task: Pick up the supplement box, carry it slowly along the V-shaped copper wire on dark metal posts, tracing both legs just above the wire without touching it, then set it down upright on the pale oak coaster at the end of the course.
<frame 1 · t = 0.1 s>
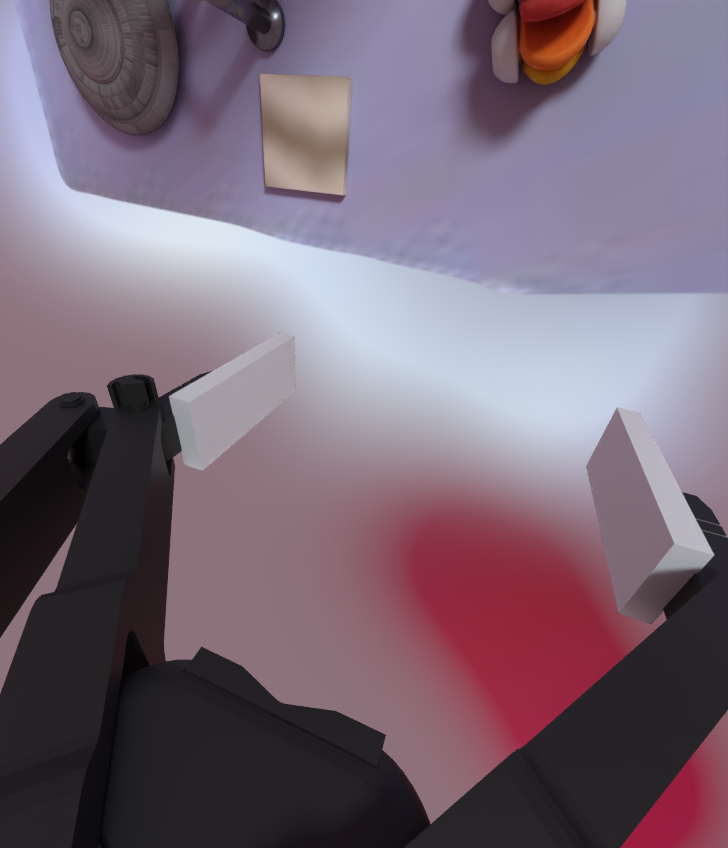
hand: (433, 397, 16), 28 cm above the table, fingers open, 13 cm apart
flying saucer: (130, 47, 40), on the table
rainbow disc toy: (551, 6, 28), on the table
coaster: (306, 137, 38), on the table
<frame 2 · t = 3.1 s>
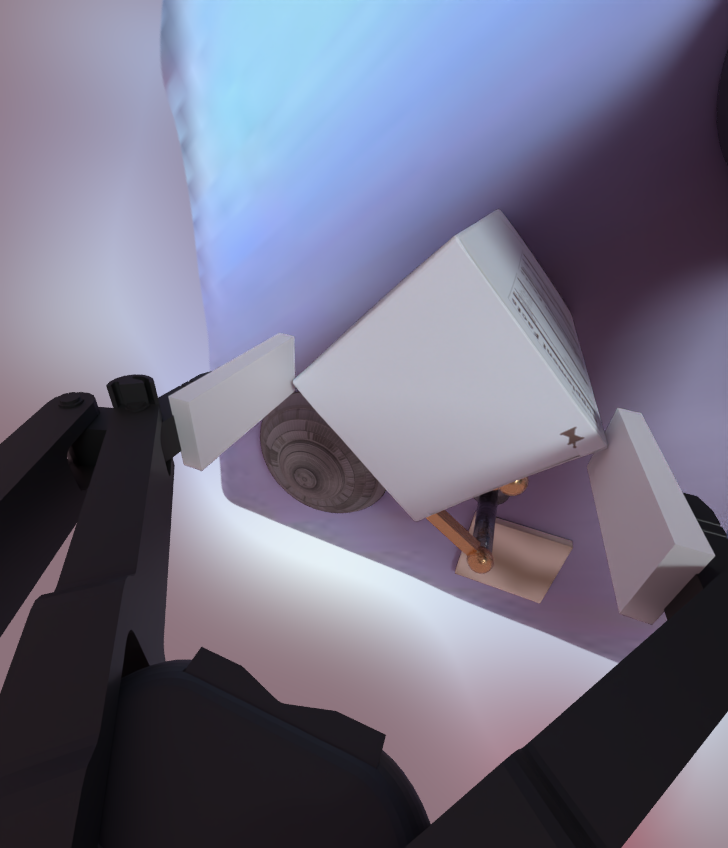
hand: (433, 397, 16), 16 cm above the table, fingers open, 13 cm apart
flying saucer: (329, 447, 41), on the table
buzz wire: (435, 434, 35), on the table
coaster: (508, 555, 39), on the table
supplement box: (478, 306, 28), on the table, touching gripper
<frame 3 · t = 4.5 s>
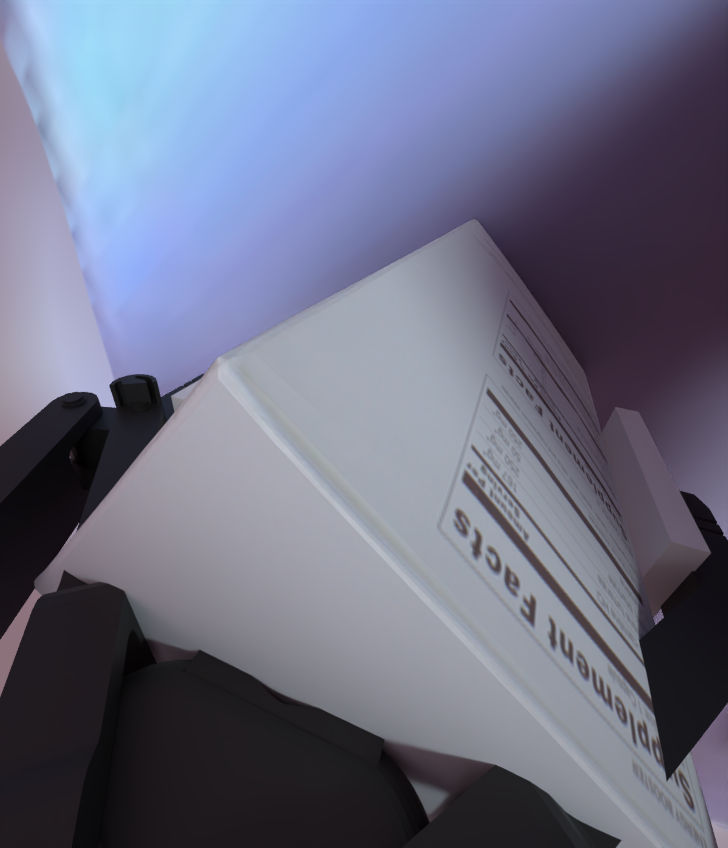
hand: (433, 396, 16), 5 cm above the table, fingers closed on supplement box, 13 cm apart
supplement box: (451, 356, 20), on the table, touching gripper
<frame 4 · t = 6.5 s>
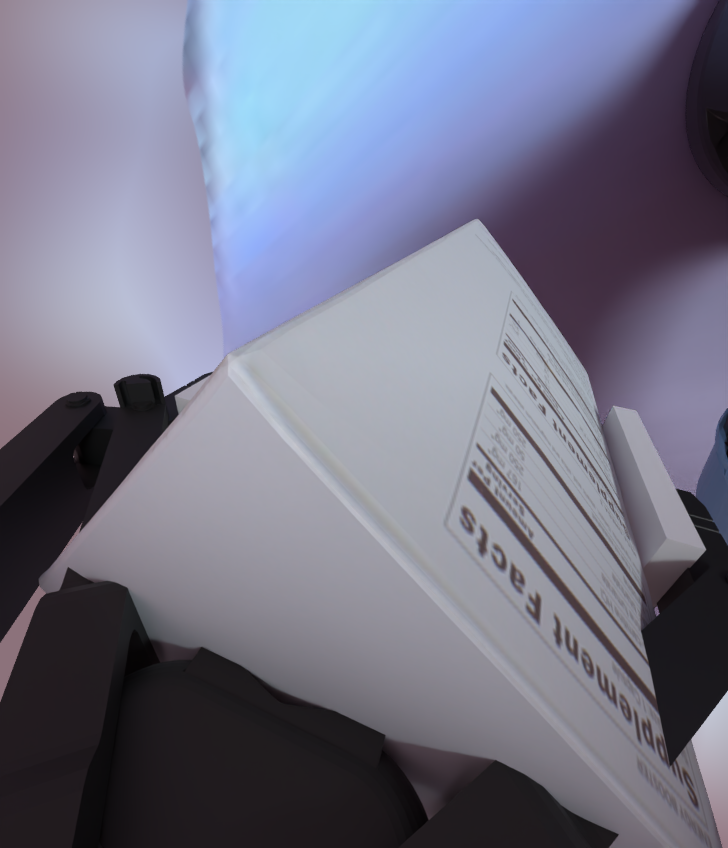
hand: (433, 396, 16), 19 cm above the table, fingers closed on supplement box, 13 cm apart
supplement box: (453, 355, 20), point 14 cm above the table, touching gripper
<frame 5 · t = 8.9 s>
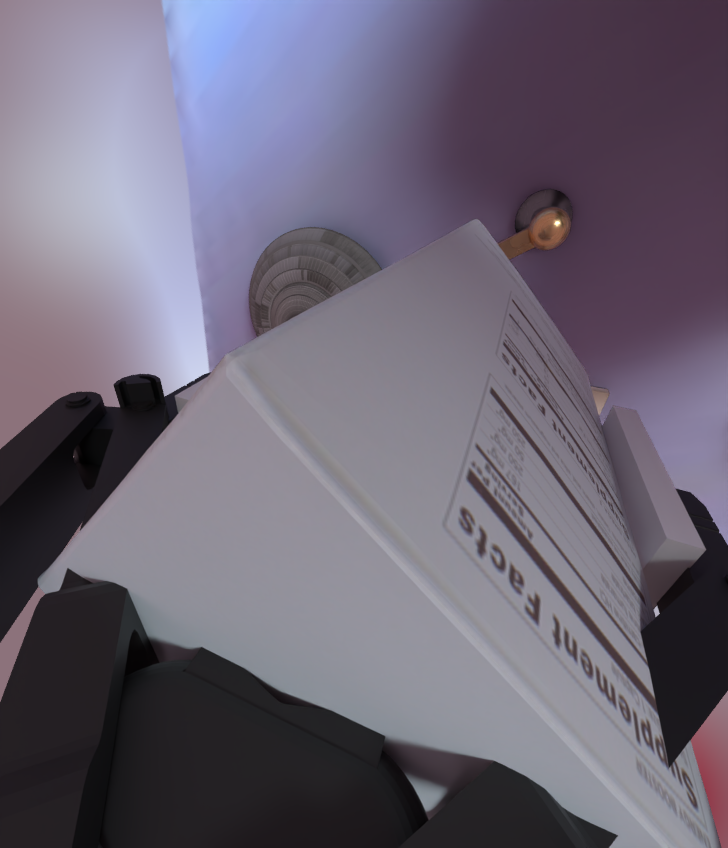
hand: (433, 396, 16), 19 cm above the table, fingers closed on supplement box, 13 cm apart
flying saucer: (326, 313, 37), on the table
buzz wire: (447, 268, 30), on the table
supplement box: (452, 355, 20), point 14 cm above the table, touching gripper
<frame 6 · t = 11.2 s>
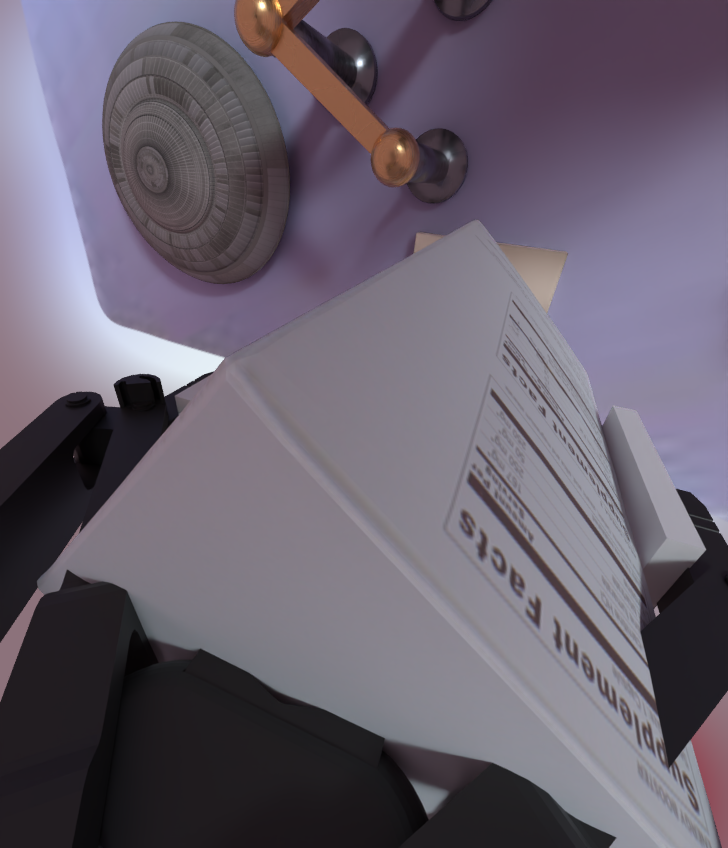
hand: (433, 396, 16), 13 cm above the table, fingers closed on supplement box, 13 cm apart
flying saucer: (211, 173, 28), on the table
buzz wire: (347, 75, 22), on the table
coaster: (472, 313, 26), on the table
supplement box: (453, 356, 20), point 8 cm above the table, touching gripper
when the fingers open (7 cm above the table, at t = 13.1 s): supplement box drops 1 cm, resting on coaster.
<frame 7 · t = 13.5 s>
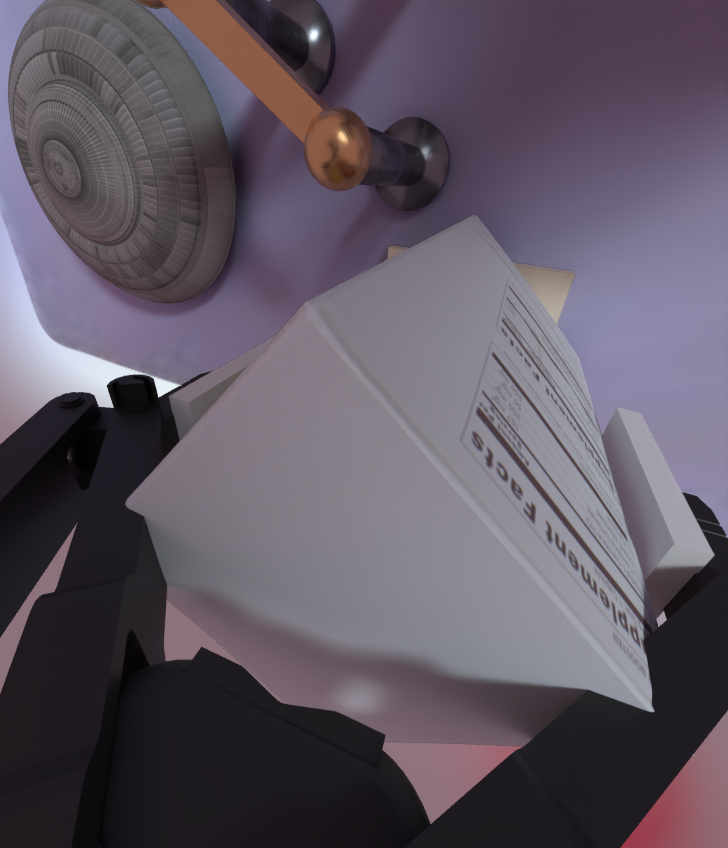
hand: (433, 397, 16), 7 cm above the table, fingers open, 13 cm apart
flying saucer: (148, 173, 24), on the table
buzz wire: (299, 51, 17), on the table
coaster: (458, 342, 22), on the table
supplement box: (453, 344, 21), point 1 cm above the table, touching coaster, gripper
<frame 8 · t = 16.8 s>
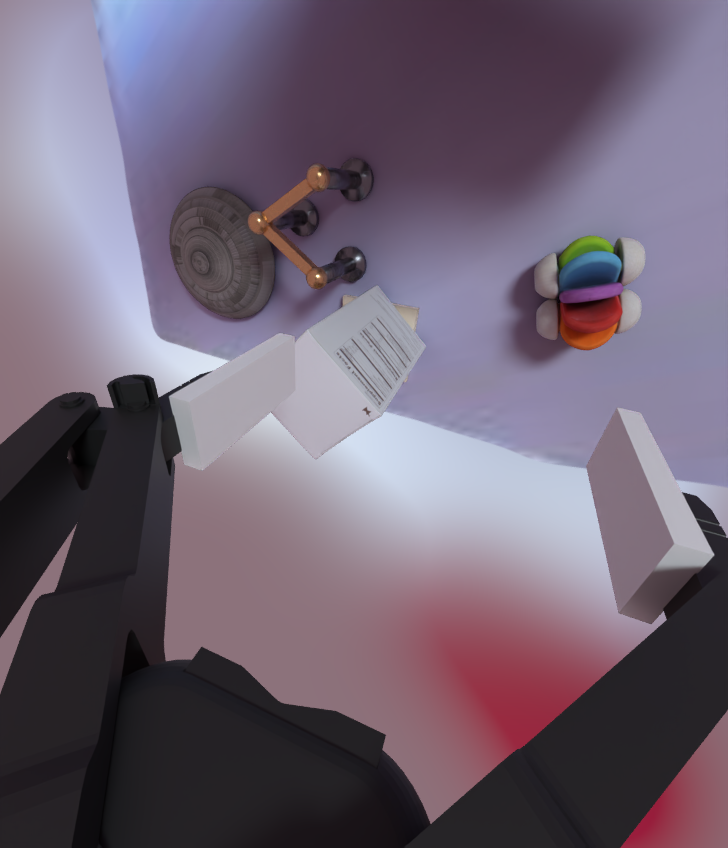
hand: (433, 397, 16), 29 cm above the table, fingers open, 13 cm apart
flying saucer: (230, 256, 48), on the table
rainbow disc toy: (582, 288, 37), on the table
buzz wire: (303, 217, 42), on the table
coaster: (377, 338, 46), on the table
supplement box: (375, 339, 46), point 1 cm above the table, touching coaster
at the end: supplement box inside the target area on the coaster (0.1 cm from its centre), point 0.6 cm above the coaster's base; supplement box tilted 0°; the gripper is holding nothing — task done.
